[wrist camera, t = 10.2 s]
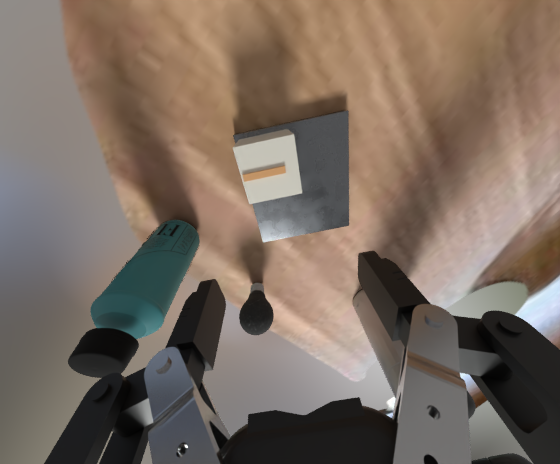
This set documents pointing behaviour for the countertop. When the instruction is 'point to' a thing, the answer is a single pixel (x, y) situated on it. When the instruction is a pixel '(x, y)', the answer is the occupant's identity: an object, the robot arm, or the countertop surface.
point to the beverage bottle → (136, 300)
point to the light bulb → (256, 312)
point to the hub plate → (310, 179)
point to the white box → (268, 166)
